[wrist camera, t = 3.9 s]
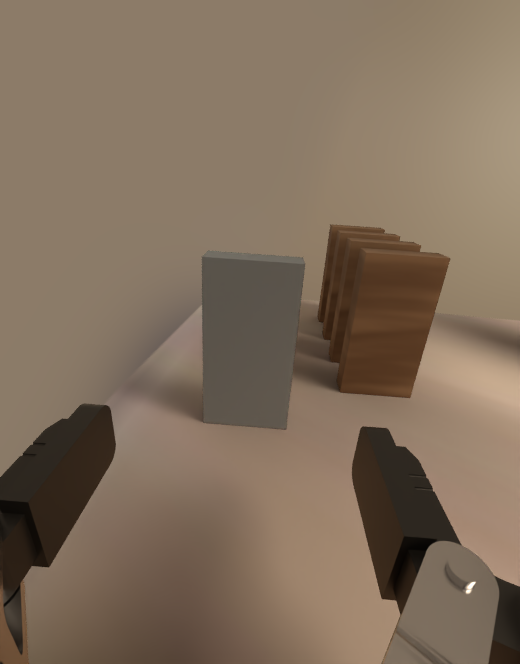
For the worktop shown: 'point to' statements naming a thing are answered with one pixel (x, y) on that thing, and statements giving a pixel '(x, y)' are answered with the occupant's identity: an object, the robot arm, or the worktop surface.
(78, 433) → the robot arm
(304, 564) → the worktop surface
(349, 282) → the domino
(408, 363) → the domino
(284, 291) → the domino
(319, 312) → the domino
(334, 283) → the domino
